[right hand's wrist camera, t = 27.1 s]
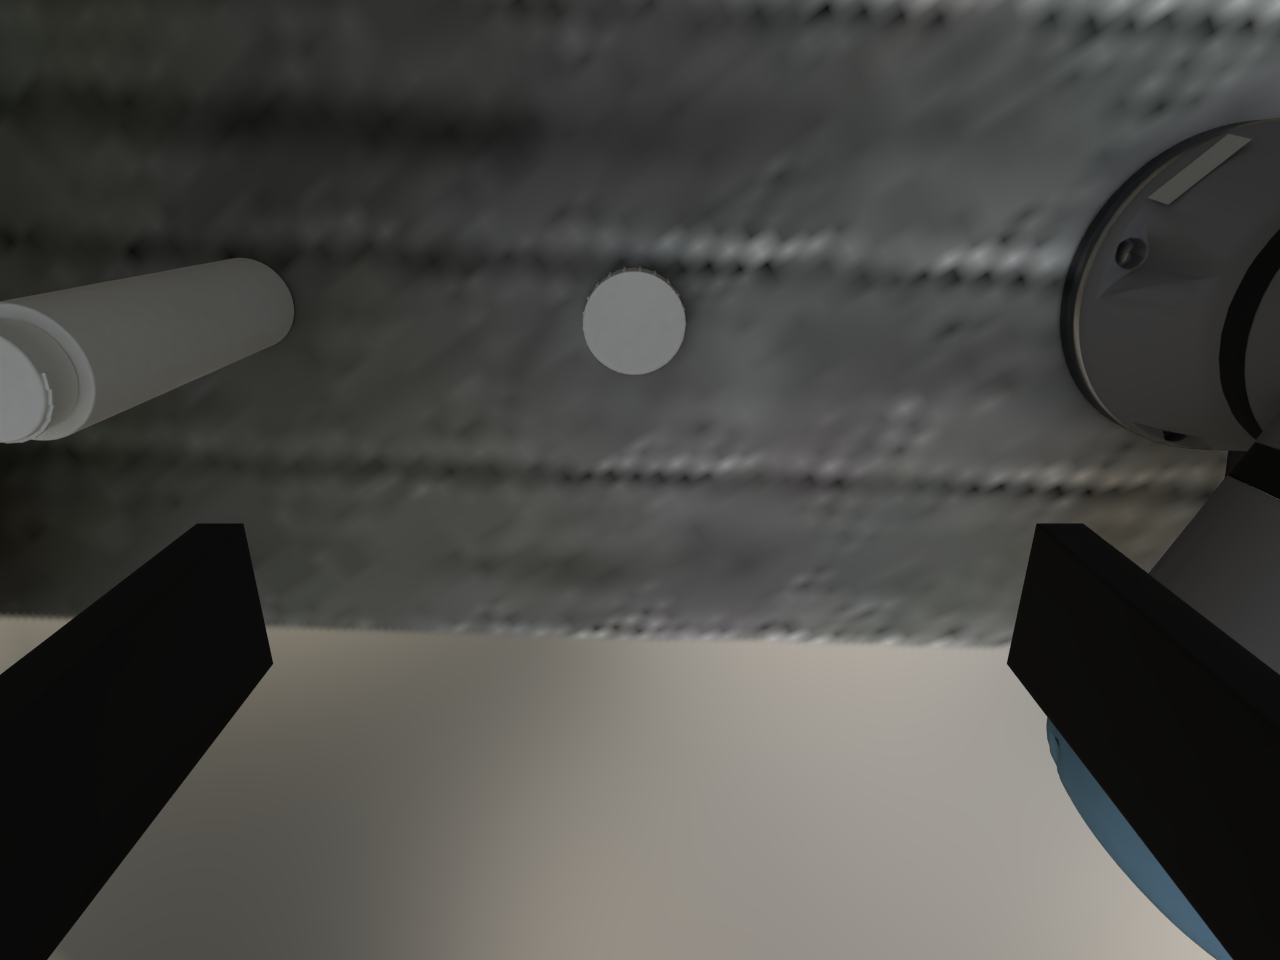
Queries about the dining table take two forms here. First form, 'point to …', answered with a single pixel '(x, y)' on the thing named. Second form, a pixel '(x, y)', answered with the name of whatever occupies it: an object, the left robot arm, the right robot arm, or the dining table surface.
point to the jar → (130, 342)
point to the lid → (634, 321)
